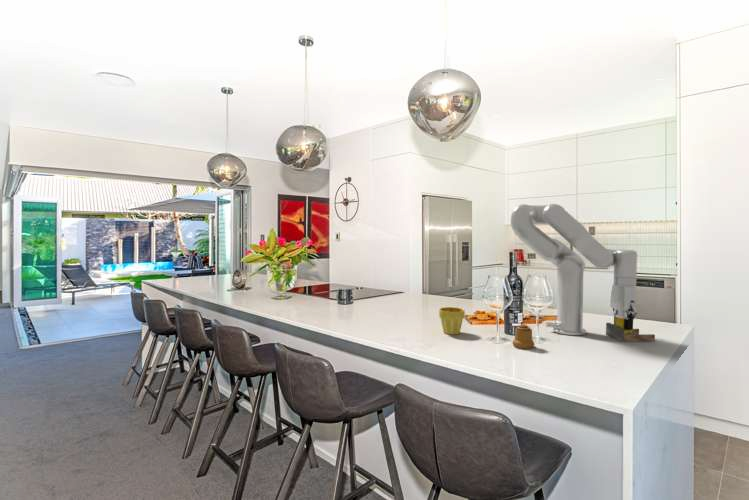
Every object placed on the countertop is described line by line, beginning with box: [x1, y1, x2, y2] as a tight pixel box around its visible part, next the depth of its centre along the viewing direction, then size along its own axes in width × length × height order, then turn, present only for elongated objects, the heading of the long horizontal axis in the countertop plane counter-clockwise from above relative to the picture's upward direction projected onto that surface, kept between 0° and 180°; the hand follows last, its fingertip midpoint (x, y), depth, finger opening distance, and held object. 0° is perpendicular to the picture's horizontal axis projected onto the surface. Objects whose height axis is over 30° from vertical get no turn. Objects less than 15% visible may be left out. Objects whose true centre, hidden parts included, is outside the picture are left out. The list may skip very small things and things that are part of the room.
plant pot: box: [438, 306, 466, 336], centre depth 171 cm, size 10×10×10 cm
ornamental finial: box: [512, 323, 535, 350], centre depth 150 cm, size 8×8×8 cm
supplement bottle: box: [614, 310, 631, 335], centre depth 161 cm, size 6×6×10 cm
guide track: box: [605, 322, 656, 343], centre depth 161 cm, size 13×10×5 cm
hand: (623, 327), depth 161 cm, fingers closed on supplement bottle, 5 cm apart
